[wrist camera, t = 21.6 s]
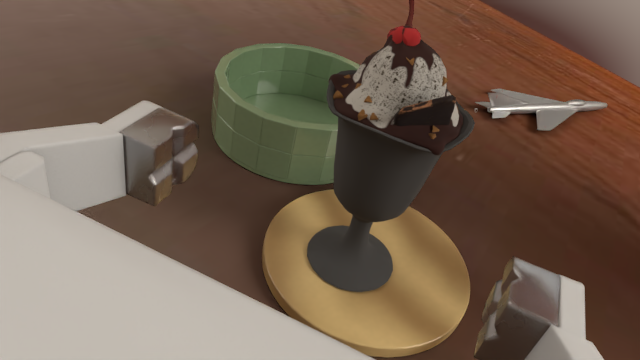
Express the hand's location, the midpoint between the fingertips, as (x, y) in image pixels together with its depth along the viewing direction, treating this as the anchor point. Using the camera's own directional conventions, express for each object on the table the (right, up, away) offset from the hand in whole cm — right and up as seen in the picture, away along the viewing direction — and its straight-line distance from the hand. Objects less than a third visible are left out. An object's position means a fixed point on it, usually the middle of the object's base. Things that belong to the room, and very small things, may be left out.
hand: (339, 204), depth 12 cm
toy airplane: (+20, +7, +38) cm, 44 cm away
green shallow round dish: (-2, +4, +27) cm, 27 cm away
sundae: (+1, -4, +16) cm, 17 cm away
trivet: (+2, -4, +17) cm, 18 cm away
